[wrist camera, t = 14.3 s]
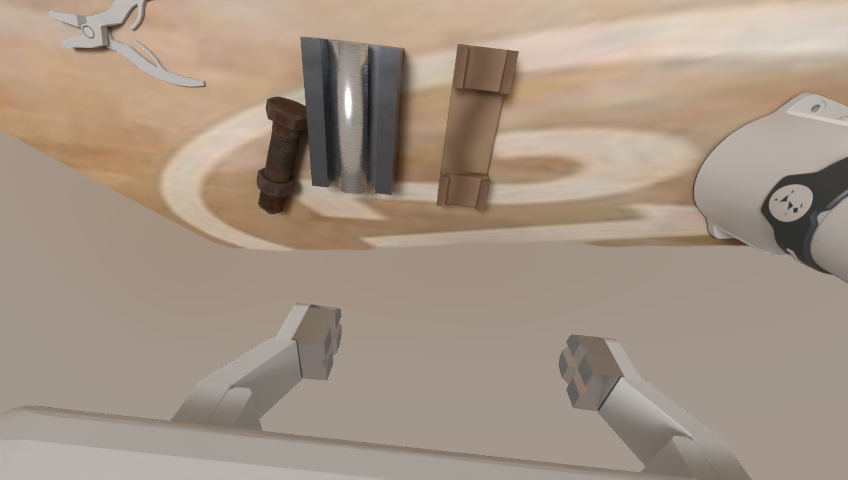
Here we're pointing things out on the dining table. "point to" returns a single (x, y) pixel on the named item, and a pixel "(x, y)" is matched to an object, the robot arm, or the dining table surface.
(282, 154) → the bolt
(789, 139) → the robot arm
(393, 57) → the v block
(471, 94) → the beam
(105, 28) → the pliers
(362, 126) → the axle
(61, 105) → the dining table surface
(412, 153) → the dining table surface
